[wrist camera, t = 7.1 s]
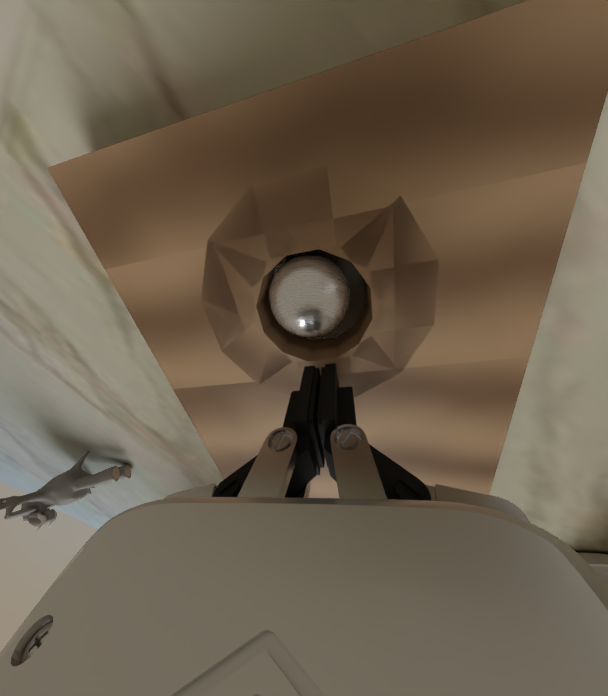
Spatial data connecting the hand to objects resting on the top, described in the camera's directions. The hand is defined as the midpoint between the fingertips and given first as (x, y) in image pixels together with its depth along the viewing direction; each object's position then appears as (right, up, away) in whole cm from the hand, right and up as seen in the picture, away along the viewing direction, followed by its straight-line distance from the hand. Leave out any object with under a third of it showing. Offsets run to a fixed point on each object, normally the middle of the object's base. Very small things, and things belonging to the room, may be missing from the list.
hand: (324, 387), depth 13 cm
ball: (-1, +5, -1) cm, 5 cm away
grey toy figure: (-24, -10, +13) cm, 29 cm away
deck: (+1, 0, +4) cm, 4 cm away
